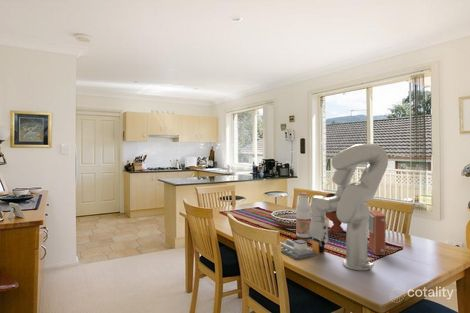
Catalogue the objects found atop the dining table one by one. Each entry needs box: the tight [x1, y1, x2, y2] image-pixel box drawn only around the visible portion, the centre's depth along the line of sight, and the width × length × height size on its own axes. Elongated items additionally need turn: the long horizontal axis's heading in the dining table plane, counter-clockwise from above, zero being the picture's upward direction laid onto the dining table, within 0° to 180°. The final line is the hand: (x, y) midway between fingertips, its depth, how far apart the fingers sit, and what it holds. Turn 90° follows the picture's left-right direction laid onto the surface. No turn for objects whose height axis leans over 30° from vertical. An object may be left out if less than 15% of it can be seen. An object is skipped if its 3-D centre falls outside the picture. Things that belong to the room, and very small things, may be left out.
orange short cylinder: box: [311, 239, 325, 255], centre depth 166 cm, size 5×5×7 cm
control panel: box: [368, 209, 387, 256], centre depth 167 cm, size 21×7×15 cm
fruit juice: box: [295, 192, 311, 239], centre depth 195 cm, size 9×9×28 cm
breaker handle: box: [293, 238, 308, 251], centre depth 162 cm, size 5×5×5 cm
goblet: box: [325, 192, 344, 233], centre depth 208 cm, size 19×19×25 cm
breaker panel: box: [280, 238, 317, 260], centre depth 168 cm, size 22×13×4 cm, turn 28°
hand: (318, 250), depth 166 cm, fingers closed on orange short cylinder, 4 cm apart
